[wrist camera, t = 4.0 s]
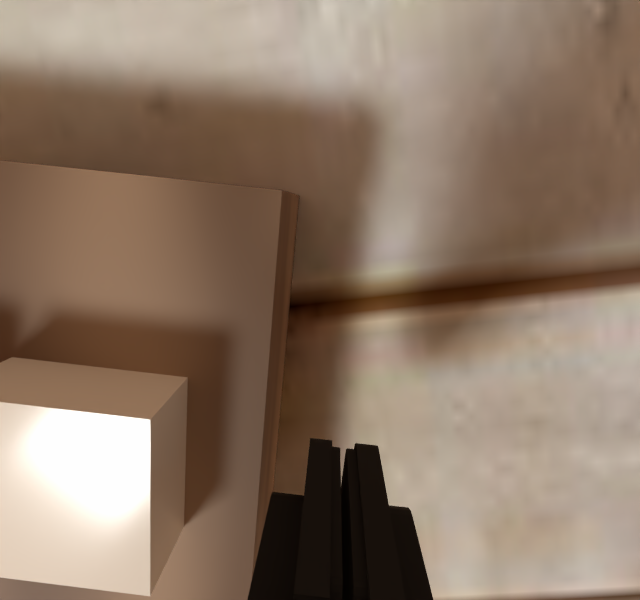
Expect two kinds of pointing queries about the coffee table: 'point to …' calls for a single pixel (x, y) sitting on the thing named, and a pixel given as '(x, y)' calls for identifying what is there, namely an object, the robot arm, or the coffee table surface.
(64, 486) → the cream tile
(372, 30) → the coffee table surface
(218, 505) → the tan square panel
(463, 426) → the coffee table surface
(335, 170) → the coffee table surface
